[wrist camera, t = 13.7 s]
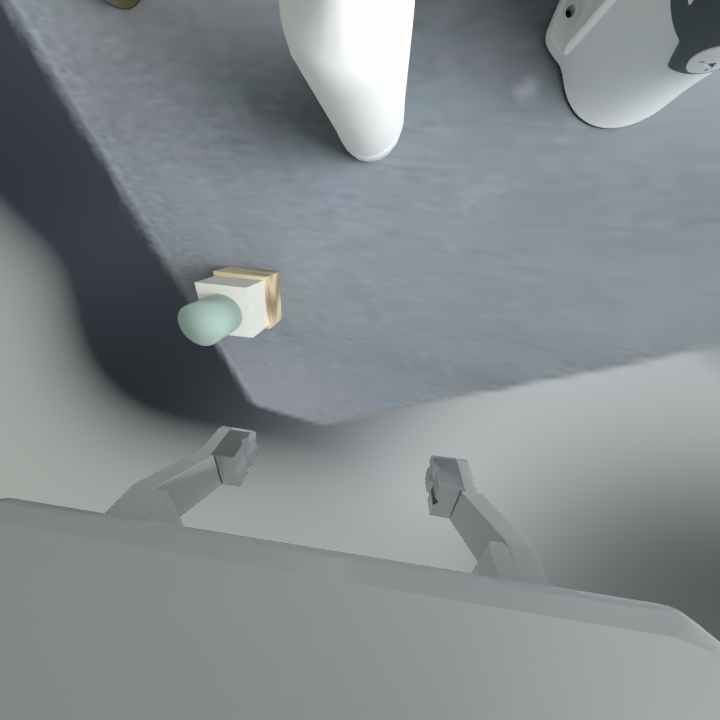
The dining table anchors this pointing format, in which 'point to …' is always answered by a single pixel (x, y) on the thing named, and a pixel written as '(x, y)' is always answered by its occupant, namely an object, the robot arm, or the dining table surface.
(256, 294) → the tower top
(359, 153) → the bottle
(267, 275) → the tower base
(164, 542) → the robot arm
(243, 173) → the dining table surface
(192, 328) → the pale green rounded block
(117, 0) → the yellow tiered cone
